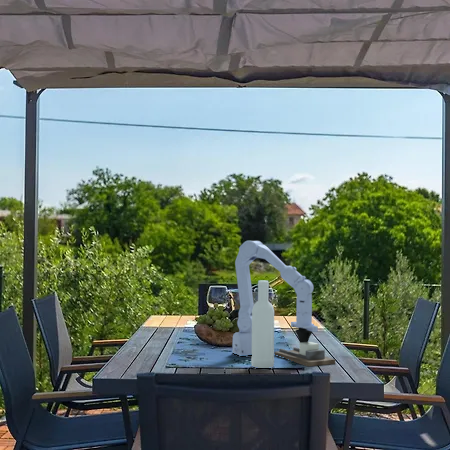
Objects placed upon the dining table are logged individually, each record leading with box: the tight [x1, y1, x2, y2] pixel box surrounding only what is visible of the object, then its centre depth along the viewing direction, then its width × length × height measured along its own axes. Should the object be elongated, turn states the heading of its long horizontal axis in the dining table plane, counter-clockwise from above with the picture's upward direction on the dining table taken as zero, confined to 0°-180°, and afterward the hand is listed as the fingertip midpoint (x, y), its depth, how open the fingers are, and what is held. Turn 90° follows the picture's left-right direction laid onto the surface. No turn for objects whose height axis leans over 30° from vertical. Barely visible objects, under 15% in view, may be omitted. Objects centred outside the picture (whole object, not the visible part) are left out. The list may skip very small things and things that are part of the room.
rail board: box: [274, 347, 336, 367], centre depth 220 cm, size 12×22×4 cm, turn 28°
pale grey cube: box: [298, 341, 320, 356], centre depth 217 cm, size 5×5×5 cm
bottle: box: [250, 279, 275, 368], centre depth 206 cm, size 8×8×30 cm
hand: (303, 348), depth 220 cm, fingers closed
